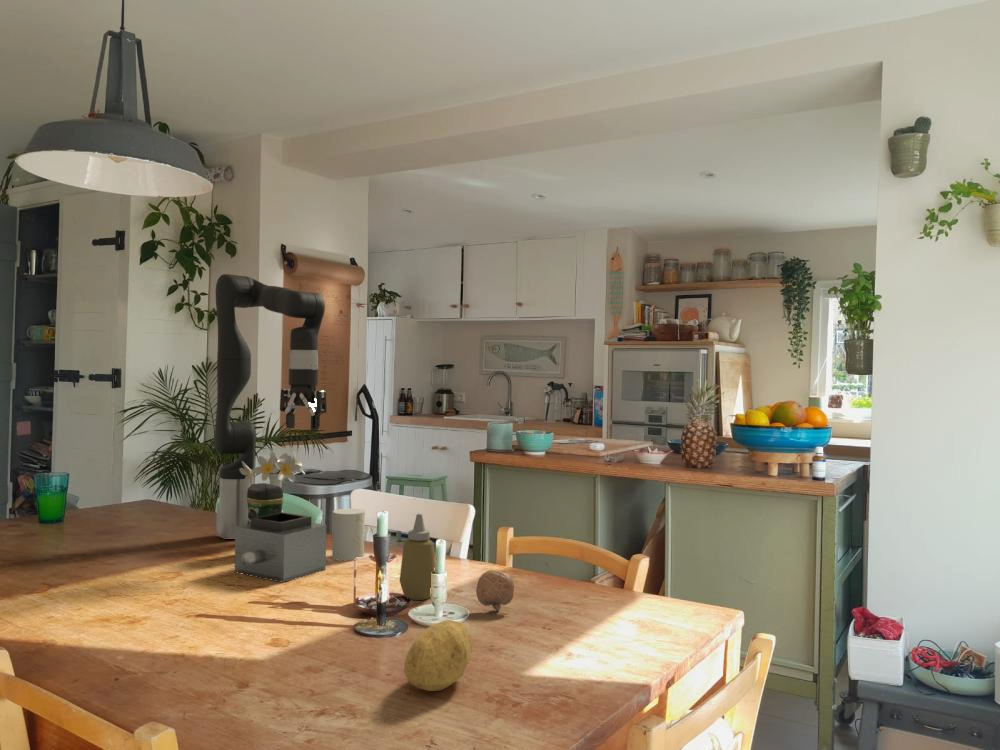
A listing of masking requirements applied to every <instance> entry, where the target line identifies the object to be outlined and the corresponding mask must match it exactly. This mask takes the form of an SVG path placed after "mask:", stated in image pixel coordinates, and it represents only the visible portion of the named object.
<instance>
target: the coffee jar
mask: <svg viewBox="0 0 1000 750" xmlns="http://www.w3.org/2000/svg"><path fill="white" fill-rule="evenodd" d="M283 490H284V489H283V488H282V486H281V487H279V486H275V485H271V484H270V483H266V482H265V483H264V482H262V483H261V482H260V483H259V482H258V483H253V484H252V485H251V486H250V487H249V488H248V491H247V504H248V523H247V524H251V518H256V517H261V516H266V515H270V514H275V513H280V512H282V510H283V503H284V491H283Z"/></svg>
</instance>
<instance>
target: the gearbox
mask: <svg viewBox="0 0 1000 750" xmlns="http://www.w3.org/2000/svg"><path fill="white" fill-rule="evenodd" d="M326 559H327V524H323V523H315V522H312V516H309V515H302V514H296V513H290V512H284V511H283V512H280V513H275V514H270V515H266V516H261V517H256V518H251V524H246V525H241V526H237V527H235V540H234V573H235V572H238V573H237V574H239V573H243V574H242V575H244V574H248V575H247V576H249V575H252V576H251V577H253V576H257V577H256V578H258V577H261V578H260V579H263V578H267V579H266V580H268V579H272V580H277V581H282V582H284V583H286V582H285V581H288V580H291V579H294V580H296V579H295V578H297V579H300V578H299V577H301V578H304V577H306V575H307V576H310V575H312V574H316V572H317V573H319V571H320V572H322V571H325V570H326V569H327V568H326V567H327V565H326V564H327V563H326V561H327V560H326ZM309 574H310V575H309ZM303 576H304V577H303ZM272 580H271V581H272ZM277 581H276V582H277ZM291 581H292V580H291ZM282 582H281V583H282ZM288 582H289V581H288Z"/></svg>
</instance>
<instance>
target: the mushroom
mask: <svg viewBox="0 0 1000 750" xmlns="http://www.w3.org/2000/svg"><path fill="white" fill-rule="evenodd" d="M475 589H476V590H475V591H476V598H477V600H478V601H479V603H480V604H481V605H483V606H486V607H490V606H492V608H493V609H494V610H495V611H496V612H498V611H501V605H502V606H506V605H508V604H510V603H511V602H512V600H513V598H514V591H515V583H514V580H513V578H512V577H511V575H510V574H508V573H507V572H503V571H500V570H497V569H496V570H493V569H489V570H486V571H485V572H483V573H482V574H481V575H480V577H479V578H478V581H477V584H476V588H475Z"/></svg>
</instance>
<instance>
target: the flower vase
mask: <svg viewBox="0 0 1000 750" xmlns="http://www.w3.org/2000/svg"><path fill="white" fill-rule="evenodd" d="M257 462H258V464H259V466H257V467H254V469H253V470H251V469H250V468H249V467H248V466H247V465H246V464H245V463H244V462H243V461H242V465H243V467H244V468H246V469H244V468H240V469H239V470H240V472H241V473H242V474H243V475H247V476H246V477H245V485H246V486H247V484H248V483H249V481H250V485H252V479H253V480H254V477H257V476H258V475H260V474H261V480H262V482H265V481H267V480H269V484H271V485H275V486H279V487H281V488H282V483H283V480H284V479H285V478H287V479H288V480H289V481H290V482H291V483H295V482H296V476H295V474H294V473H295V472H297V471H299V472H300V473H302V474H303V475H306V472H305V471H304V470H303V469H302V468H301V467H303V463H302V461H301V460H297V455H296V452H295V451H293V453H292V456H291V455H289V453H287V452H285V453H282V454H281V455H280V456H278V454H277V452H275V451H270V453H268V454H267V456H266V458H265V457H264V456H262V455H260V456H258V457H257ZM254 474H255V475H254ZM282 512H284V511H283V509H282Z"/></svg>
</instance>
